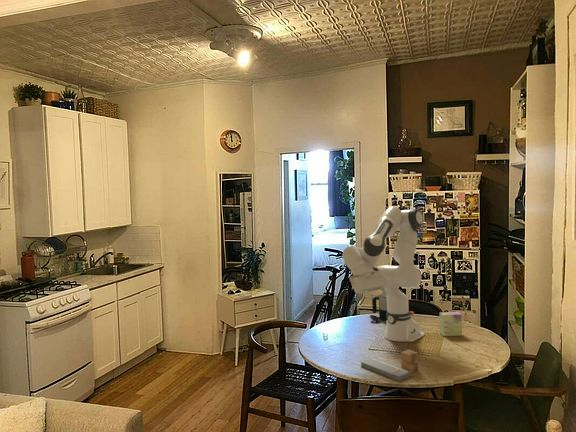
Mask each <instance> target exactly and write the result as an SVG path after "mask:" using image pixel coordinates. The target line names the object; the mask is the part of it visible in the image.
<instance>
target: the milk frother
mask: <svg viewBox="0 0 576 432" xmlns="http://www.w3.org/2000/svg"><path fill="white" fill-rule="evenodd" d="M377 301H378V305H377ZM371 306H372V307H371V308H372V312H373V314H369V318H370V319H371V320H373V322H376V323H381V322H382V321H387V298H386V296H383V295H382V293H380V294H379V295H375V296H373V299H371ZM377 306H378V308H377ZM377 313H378V315H379V316H376V315H374V314H377Z"/></svg>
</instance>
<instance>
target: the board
mask: <svg viewBox="0 0 576 432" xmlns="http://www.w3.org/2000/svg"><path fill="white" fill-rule="evenodd" d="M360 367H362V368H364V369H368V370H369V371H371V372H375V373H378V374H379V375H383V376H384V377H387V378H390V379H392V380H395V381H397V382H401V381H403V380H406V379H408V378H410V377H412V373H411V371H408V370H405V369H403V368H401V367H400V366H398V365H394V364H392V363H389V362H386V361H383V360H380V359H378V358H376V357H371V358H369V359H365V360H362V361H360Z"/></svg>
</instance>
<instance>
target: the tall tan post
mask: <svg viewBox="0 0 576 432" xmlns="http://www.w3.org/2000/svg"><path fill="white" fill-rule="evenodd" d="M418 358H419V357H418V352H417V351H414V350H412V349H406V350H403V351H401V352H400V361H401V362H400V366H401V367H400V368H403V369H405V370H408V371H411V374H412V373H414V372H417V371H419V365H418V363H419V362H418V361H419V360H418Z"/></svg>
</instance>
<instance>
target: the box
mask: <svg viewBox="0 0 576 432" xmlns="http://www.w3.org/2000/svg"><path fill="white" fill-rule="evenodd" d="M438 316H439V318H438V320H439V334H440V335H441V336H443V337H453V336H454V337H458V336H459V337H461V336H462V335H463V323H462V322H463V321H462V319H463V316H462V313H460V311H448V312H447V311H446V312H439V315H438Z"/></svg>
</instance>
